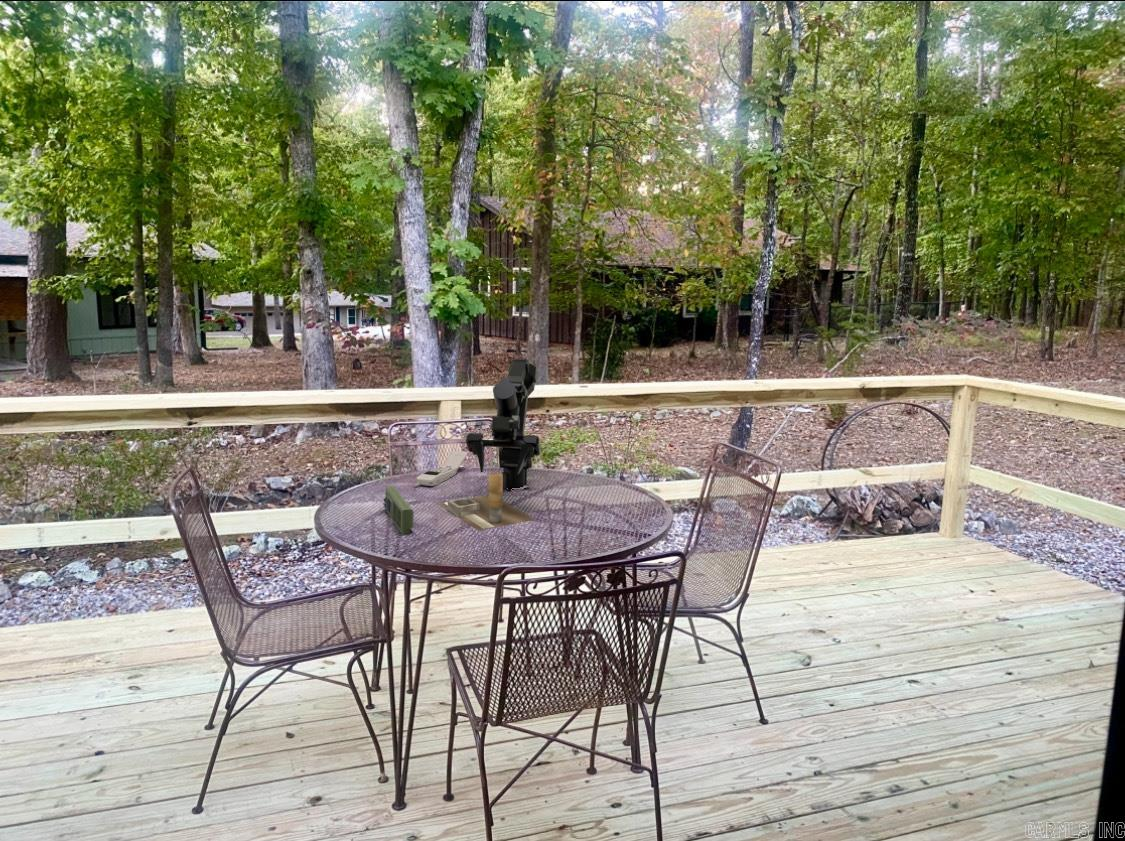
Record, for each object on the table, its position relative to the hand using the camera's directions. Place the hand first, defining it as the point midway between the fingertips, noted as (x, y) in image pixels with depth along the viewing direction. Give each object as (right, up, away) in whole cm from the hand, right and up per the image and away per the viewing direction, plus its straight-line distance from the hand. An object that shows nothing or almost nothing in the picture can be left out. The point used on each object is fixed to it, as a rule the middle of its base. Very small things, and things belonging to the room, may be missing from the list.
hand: (499, 472), depth 184 cm
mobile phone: (-21, -5, +38) cm, 43 cm away
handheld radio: (-26, -12, +2) cm, 29 cm away
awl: (-1, -12, -4) cm, 12 cm away
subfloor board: (-4, -12, +4) cm, 13 cm away
